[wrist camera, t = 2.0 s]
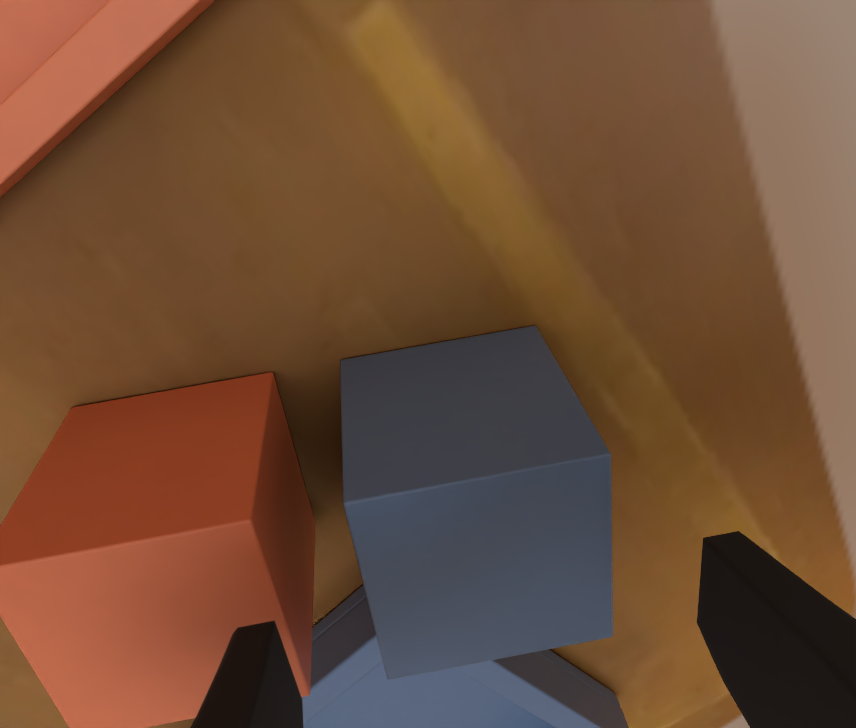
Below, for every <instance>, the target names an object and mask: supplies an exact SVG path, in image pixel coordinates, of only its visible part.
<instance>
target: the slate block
mask: <svg viewBox="0 0 856 728" xmlns="http://www.w3.org/2000/svg"><path fill="white" fill-rule="evenodd" d="M340 379H341V423H342V467H343V505H344V509H345V513H346V517H347V521H348V525H349V529H350V533H351V536H352V540H353V544H354V548H355V552H356V556H357V560H358V564H359V568H360V572H361V576H362V580H363V584H364V588H365V592H366V596H367V600H368V604H369V608H370V612H371V616H372V620H373V624H374V628H375V632H376V636H377V640H378V644H379V648H380V652H381V656H382V660H383V664H384V668H385V672H386V676H387V679H388V680H393V679H398V678H403V677H408V676H413V675H418V674H424V673H429V672H434V671H439V670H444V669H449V668H454V667H460V666H465V665H470V664H475V663H480V662H485V661H490V660H495V659H501V658H506V657H511V656H516V655H521V654H526V653H531V652H537V651H542V650H547V649H552V648H557V647H562V646H567V645H573V644H578V643H583V642H588V641H593V640H598V639H603V638H609V637H612V636H613V586H612V493H611V454H610V452H609V450H608V448H607V447H606V445H605V443H604V442H603V440H602V438H601V436H600V435H599V433H598V431H597V430H596V428H595V426H594V424H593V423H592V421H591V419H590V418H589V416H588V414H587V412H586V411H585V409H584V407H583V406H582V404H581V402H580V400H579V399H578V397H577V395H576V394H575V392H574V390H573V388H572V387H571V385H570V383H569V382H568V380H567V378H566V376H565V375H564V373H563V371H562V370H561V368H560V366H559V365H558V363H557V361H556V359H555V358H554V356H553V354H552V353H551V351H550V349H549V347H548V346H547V344H546V342H545V341H544V339H543V337H542V335H541V334H540V332H539V330H538V329H537V327H536V326H530V327H525V328H519V329H513V330H508V331H502V332H496V333H491V334H485V335H479V336H474V337H468V338H462V339H457V340H451V341H445V342H440V343H434V344H428V345H423V346H417V347H411V348H406V349H400V350H394V351H389V352H383V353H377V354H372V355H366V356H360V357H355V358H349V359H343V360H341V361H340Z"/></svg>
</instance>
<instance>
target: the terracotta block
mask: <svg viewBox="0 0 856 728" xmlns="http://www.w3.org/2000/svg"><path fill="white" fill-rule="evenodd" d="M314 549H315V520H314V516H313V513H312V509H311V506H310V502H309V499H308V495H307V491H306V488H305V484H304V481H303V477H302V474H301V470H300V467H299V463H298V459H297V456H296V452H295V449H294V445H293V442H292V438H291V434H290V431H289V427H288V424H287V420H286V417H285V413H284V410H283V406H282V402H281V399H280V395H279V392H278V388H277V385H276V381H275V378H274V374H273V373H272V372H270V373H265V374H259V375H253V376H248V377H242V378H236V379H231V380H225V381H219V382H214V383H208V384H202V385H197V386H191V387H185V388H180V389H174V390H168V391H163V392H157V393H151V394H146V395H140V396H134V397H129V398H123V399H117V400H112V401H106V402H100V403H95V404H89V405H83V406H78V407H73V408H71V409H70V411H69V413H68V414H67V416H66V418H65V419H64V421H63V423H62V424H61V426H60V428H59V429H58V431H57V433H56V434H55V436H54V438H53V439H52V441H51V443H50V444H49V446H48V448H47V449H46V451H45V453H44V454H43V456H42V458H41V459H40V461H39V463H38V464H37V466H36V468H35V469H34V471H33V473H32V474H31V476H30V478H29V479H28V481H27V483H26V484H25V486H24V488H23V489H22V491H21V493H20V494H19V496H18V498H17V499H16V501H15V503H14V504H13V506H12V508H11V509H10V511H9V513H8V514H7V516H6V518H5V519H4V521H3V523H2V524H1V526H0V617H1V618H2V620H3V621H4V623H5V625H6V626H7V628H8V629H9V631H10V633H11V634H12V636H13V638H14V639H15V641H16V642H17V644H18V646H19V647H20V649H21V650H22V652H23V654H24V655H25V657H26V658H27V660H28V662H29V663H30V665H31V667H32V668H33V670H34V671H35V673H36V675H37V676H38V678H39V679H40V681H41V683H42V684H43V686H44V688H45V689H46V691H47V692H48V694H49V696H50V697H51V699H52V700H53V702H54V704H55V705H56V707H57V708H58V710H59V712H60V713H61V715H62V717H63V718H64V720H65V721H66V723H67V725H68V726H69V728H146V727H151V726H156V725H161V724H166V723H171V722H177V721H182V720H187V719H192V718H196V716H197V714H198V712H199V709H200V707H201V705H202V703H203V701H204V699H205V696H206V694H207V692H208V690H209V688H210V686H211V683H212V681H213V679H214V677H215V674H216V672H217V670H218V667H219V665H220V663H221V660H222V658H223V656H224V653H225V651H226V649H227V646H228V644H229V641H230V639H231V636H232V634H233V633H234V631H235V630H236V629H237V628H238V627H243V626H248V625H254V624H259V623H264V622H269V621H274V620H275V623H276V626H277V629H278V631H279V634H280V637H281V640H282V643H283V646H284V649H285V652H286V654H287V657H288V660H289V663H290V666H291V669H292V672H293V675H294V677H295V680H296V683H297V686H298V689H299V692H300V695H301V697H305V696H309V695H310V685H311V651H312V617H313V583H314Z"/></svg>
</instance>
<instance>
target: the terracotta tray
mask: <svg viewBox="0 0 856 728" xmlns="http://www.w3.org/2000/svg"><path fill="white" fill-rule="evenodd" d="M214 1H215V0H0V198H1V197H2V196H3V195H4V194H5V193H6V192H7V191H8V190H9V189H10V188H11V187H13V186H14V185H15V184H16V183H17V182H18V181H19V180H20V179H21V178H22V177H23V176H24V175H26V174H27V173H28V172H29V171H30V170H31V169H32V168H33V167H34V166H35V165H36V164H38V163H39V162H40V161H41V160H42V159H43V158H44V157H45V156H46V155H47V154H48V153H50V152H51V151H52V150H53V149H54V148H55V147H56V146H57V145H58V144H59V143H60V142H61V141H63V140H64V139H65V138H66V137H67V136H68V135H69V134H70V133H71V132H72V131H73V130H75V129H76V128H77V127H78V126H79V125H80V124H81V123H82V122H83V121H84V120H85V119H87V118H88V117H89V116H90V115H91V114H92V113H93V112H94V111H95V110H96V109H97V108H99V107H100V106H101V105H102V104H103V103H104V102H105V101H106V100H107V99H108V98H109V97H110V96H112V95H113V94H114V93H115V92H116V91H117V90H118V89H119V88H120V87H121V86H122V85H124V84H125V83H126V82H127V81H128V80H129V79H130V78H131V77H132V76H133V75H134V74H136V73H137V72H138V71H139V70H140V69H141V68H142V67H143V66H144V65H145V64H146V63H147V62H149V61H150V60H151V59H152V58H153V57H154V56H155V55H156V54H157V53H158V52H159V51H161V50H162V49H163V48H164V47H165V46H166V45H167V44H168V43H169V42H170V41H171V40H173V39H174V38H175V37H176V36H177V35H178V34H179V33H180V32H181V31H182V30H183V29H185V28H186V27H187V26H188V25H189V24H190V23H191V22H192V21H193V20H194V19H195V18H196V17H198V16H199V15H200V14H201V13H202V12H203V11H204V10H205V9H206V8H207V7H208V6H210V5H211V4H212V3H213V2H214Z"/></svg>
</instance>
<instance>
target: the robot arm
mask: <svg viewBox="0 0 856 728" xmlns="http://www.w3.org/2000/svg"><path fill="white" fill-rule="evenodd" d="M697 624H698V626H699V628H700V630H701V633H702V635H703V637H704V640H705V642H706V644H707V647H708V649H709V651H710V653H711V656H712V658H713V660H714V662H715V664H716V667H717V669H718V671H719V673H720V675H721V677H722V679H723V682H724V683H725V685H726V687H727V689H728V690H729V692H730V694H731V696H732V697H733V699H734V701H735V702H736V704H737V706H738V707H739V709H740V711H741V713H742V714H743V716H744V718H745V719H746V721H747V723H748V725H749V726H750V728H856V619H855V618H853V617H852V616H851V615H849V614H848V613H846V612H845V611H844V610H842V609H841V608H839V607H838V606H837V605H835V604H834V603H832V602H831V601H830V600H828V599H827V598H826V597H824V596H823V595H822V594H820V593H819V592H818V591H816V590H815V589H814V588H812V587H811V586H810V585H808V584H807V583H806V582H805V581H803V580H802V579H801V578H799V577H798V576H797V575H795V574H794V573H793V572H791V571H790V570H789V569H787V568H786V567H785V566H784V565H782V564H781V563H780V562H778V561H777V560H776V559H775V558H773V557H772V556H771V555H769V554H768V553H767V552H765V551H764V550H763V549H762V548H760V547H759V546H758V545H756V544H755V543H754V542H752V541H751V540H750V539H748V538H747V537H746V536H744V535H743V534H742V533H740V532H739V531H737V532H732V533H727V534H721V535H716V536H711V537H706V538H703V549H702V562H701V576H700V589H699V603H698V616H697ZM191 728H303V700H302V698H301V695H300V692H299V689H298V686H297V683H296V680H295V677H294V675H293V672H292V669H291V666H290V663H289V660H288V657H287V654H286V652H285V649H284V646H283V643H282V640H281V637H280V634H279V631H278V629H277V626H276V623H275V620H274V621H269V622H264V623H259V624H254V625H248V626H243V627H238V628H237V629H236V630H235V631H234V633H233V634H232V636H231V639H230V641H229V644H228V646H227V649H226V651H225V653H224V656H223V658H222V660H221V663H220V665H219V667H218V670H217V672H216V674H215V677H214V679H213V681H212V683H211V686H210V688H209V690H208V692H207V694H206V696H205V699H204V701H203V703H202V705H201V707H200V709H199V712H198V714H197V716H196V718H195V720H194V722H193V724H192V726H191Z"/></svg>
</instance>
